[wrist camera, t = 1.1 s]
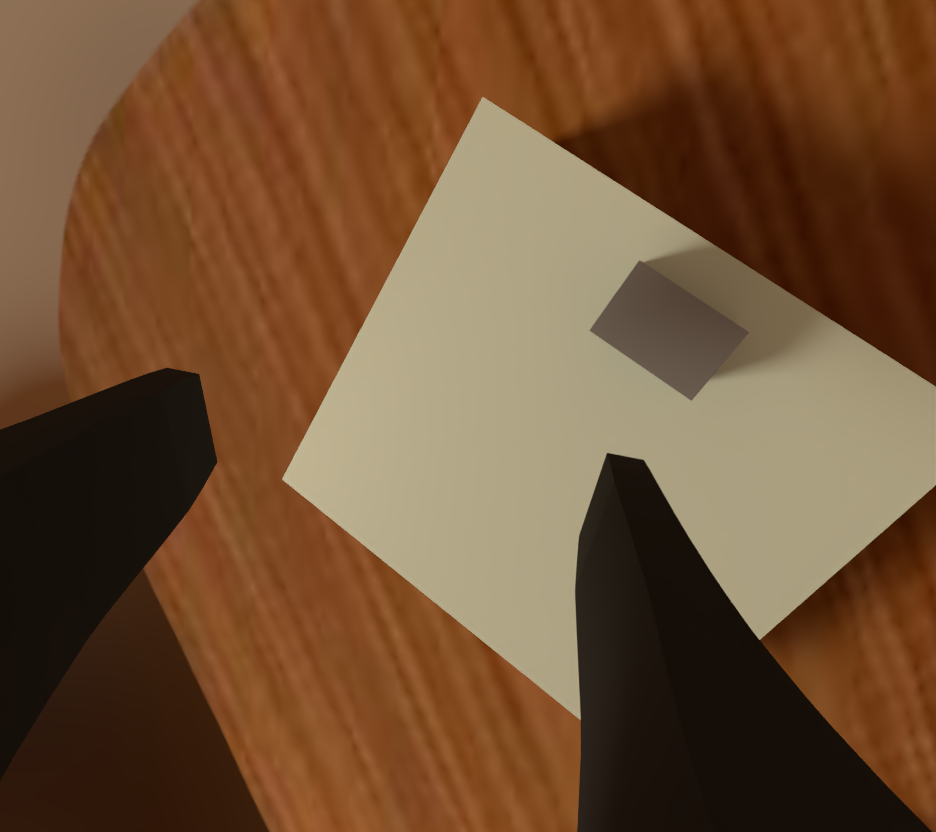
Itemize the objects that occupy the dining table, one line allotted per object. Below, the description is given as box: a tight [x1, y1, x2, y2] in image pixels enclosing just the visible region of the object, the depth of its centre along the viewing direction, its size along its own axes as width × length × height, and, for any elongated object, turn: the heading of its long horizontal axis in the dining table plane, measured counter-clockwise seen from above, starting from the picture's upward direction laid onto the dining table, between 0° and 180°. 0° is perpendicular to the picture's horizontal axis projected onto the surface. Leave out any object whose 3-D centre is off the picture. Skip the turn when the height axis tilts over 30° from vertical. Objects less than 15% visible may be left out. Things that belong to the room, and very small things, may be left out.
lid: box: [282, 97, 936, 720], centre depth 16 cm, size 16×15×3 cm
